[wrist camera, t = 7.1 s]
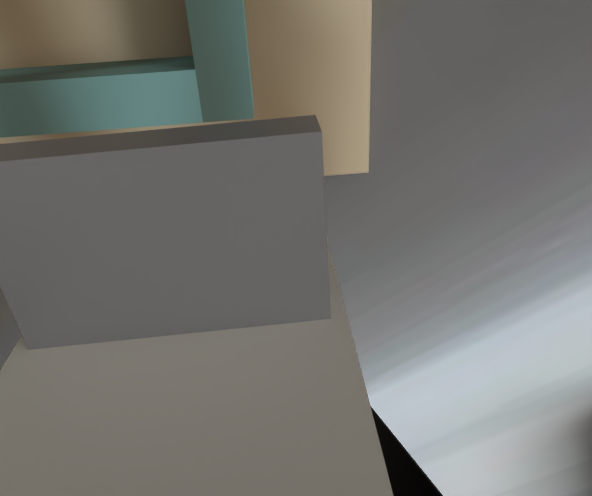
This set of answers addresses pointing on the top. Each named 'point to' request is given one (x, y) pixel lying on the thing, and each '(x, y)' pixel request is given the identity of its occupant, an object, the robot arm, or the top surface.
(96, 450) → the block
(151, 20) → the tray
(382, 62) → the top surface
